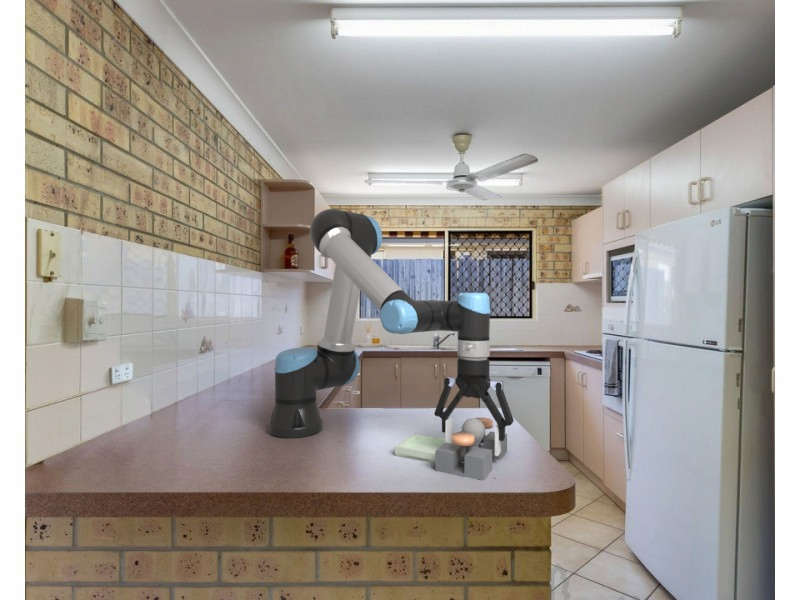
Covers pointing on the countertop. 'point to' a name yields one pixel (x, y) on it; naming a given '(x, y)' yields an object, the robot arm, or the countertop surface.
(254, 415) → the countertop surface
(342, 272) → the robot arm
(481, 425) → the light bulb
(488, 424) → the orange mushroom knob
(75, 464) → the countertop surface
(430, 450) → the tray
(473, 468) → the socket housing
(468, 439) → the plunger
